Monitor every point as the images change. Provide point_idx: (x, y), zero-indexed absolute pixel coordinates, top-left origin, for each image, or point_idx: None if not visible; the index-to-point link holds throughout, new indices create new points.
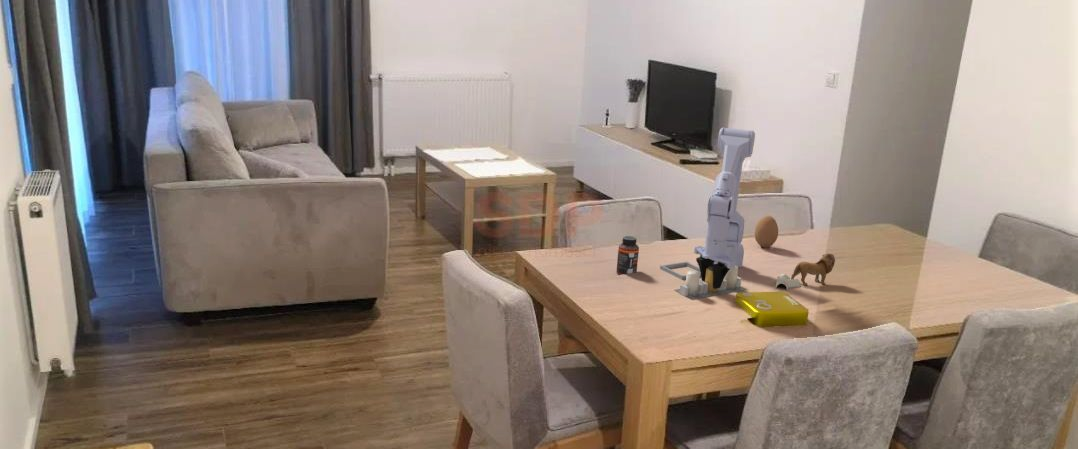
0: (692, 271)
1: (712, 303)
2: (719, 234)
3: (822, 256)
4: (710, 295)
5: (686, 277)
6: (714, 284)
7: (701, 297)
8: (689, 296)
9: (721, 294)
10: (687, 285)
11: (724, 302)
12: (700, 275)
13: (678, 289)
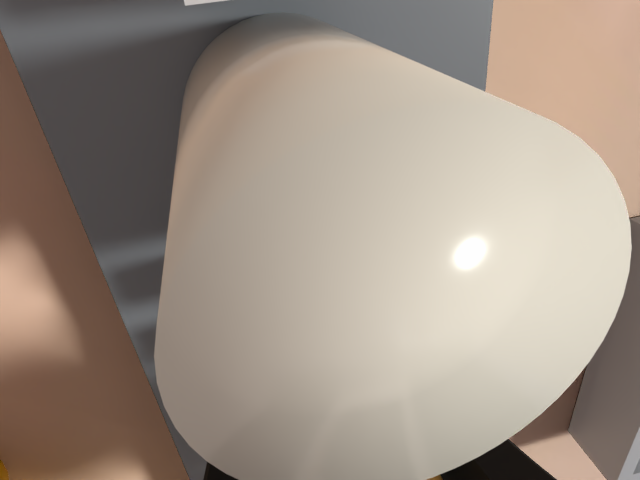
0: (516, 358)
1: (69, 277)
2: None
3: None
4: (155, 325)
5: (437, 72)
6: (208, 477)
7: (88, 184)
8: (154, 6)
9: (171, 432)
10: (282, 31)
11: (93, 392)
12: (618, 419)
13: (480, 13)
